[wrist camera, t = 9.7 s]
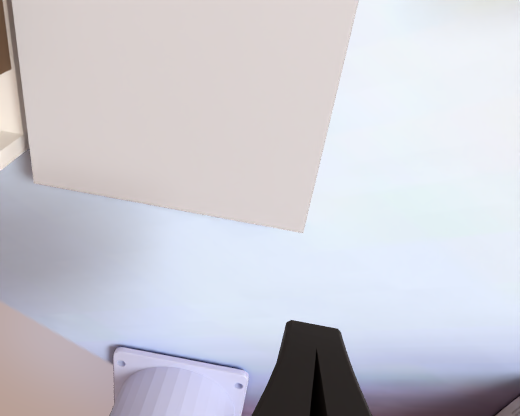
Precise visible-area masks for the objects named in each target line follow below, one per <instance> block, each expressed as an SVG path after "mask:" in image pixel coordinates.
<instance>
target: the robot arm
mask: <svg viewBox="0 0 520 416" xmlns="http://www.w3.org/2000/svg"><path fill="white" fill-rule="evenodd" d="M113 369H114V406H113V408H112V411H111V413H110V416H241V414H242V409H243V405H244V400H245V395H246V390H247V385H248V380H249V375H248V373H247V372H246V371H244V370H240V369H235V368H229V367H224V366H219V365H214V364H209V363H203V362H198V361H193V360H188V359H182V358H177V357H172V356H167V355H161V354H156V353H151V352H146V351H140V350H135V349H130V348H125V347H119V348H117V349H116V350H115V352H114V354H113ZM252 416H372V414H371V412H370V410H369V408H368V405H367V403H366V401H365V398H364V396H363V394H362V391H361V389H360V387H359V384H358V382H357V379H356V377H355V374H354V371H353V368H352V366H351V363H350V360H349V357H348V354H347V351H346V348H345V345H344V342H343V339H342V335H341V332H340V331H339V330H338V329H336V328H331V327H325V326H320V325H315V324H309V323H304V322H299V321H294V320H291V321H289V322H286V326H285V331H284V335H283V339H282V343H281V347H280V351H279V355H278V359H277V363H276V365H275V368H274V370H273V372H272V375H271V377H270V379H269V382H268V384H267V386H266V388H265V390H264V392H263V394H262V396H261V398H260V400H259V402H258V404H257V406H256V408H255V410H254V412H253V414H252Z"/></svg>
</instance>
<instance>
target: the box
mask: <svg viewBox="0 0 520 416" xmlns="http://www.w3.org/2000/svg"><path fill="white" fill-rule="evenodd" d="M3 7H4V15H5V23H6V30H7V38H8V46H9V53H10V61H11V70H9V71H7V72H5V73H3V74H1V75H0V171H1V170H2V169H3V168H5V167H6V166H7V165H8V164H10V163H11V162H12V161H13V160H15V159H16V158H17V157H19V156H20V155H21V154H22V153H24V152H25V151H26V150H27V149H29V139H28V131H27V123H26V115H25V106H24V98H23V90H22V81H21V73H20V65H19V57H18V48H17V40H16V32H15V24H14V15H13V7H12V0H3Z"/></svg>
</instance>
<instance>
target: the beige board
mask: <svg viewBox="0 0 520 416" xmlns="http://www.w3.org/2000/svg"><path fill="white" fill-rule="evenodd" d="M358 1H359V0H12V7H13V15H14V24H15V32H16V40H17V48H18V57H19V65H20V73H21V81H22V90H23V98H24V106H25V115H26V123H27V131H28V139H29V148H30V156H31V164H32V172H33V181H34V183H35V184H41V185H46V186H52V187H57V188H62V189H68V190H73V191H79V192H84V193H89V194H95V195H100V196H106V197H111V198H116V199H122V200H127V201H133V202H138V203H143V204H149V205H154V206H159V207H165V208H170V209H176V210H181V211H186V212H192V213H197V214H203V215H208V216H213V217H219V218H224V219H230V220H235V221H240V222H246V223H251V224H256V225H262V226H267V227H273V228H278V229H283V230H289V231H294V232H300V233H303V231H304V227H305V223H306V219H307V215H308V211H309V206H310V202H311V198H312V194H313V190H314V185H315V181H316V177H317V173H318V169H319V164H320V160H321V156H322V152H323V148H324V144H325V139H326V135H327V131H328V127H329V123H330V118H331V114H332V110H333V106H334V102H335V98H336V93H337V89H338V85H339V81H340V77H341V72H342V68H343V64H344V60H345V56H346V51H347V47H348V43H349V39H350V35H351V31H352V26H353V22H354V18H355V14H356V10H357V5H358Z"/></svg>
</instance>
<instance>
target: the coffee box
mask: <svg viewBox="0 0 520 416" xmlns="http://www.w3.org/2000/svg"><path fill="white" fill-rule="evenodd" d="M496 416H520V396H519V397H518V398H516V399H515V400H514V401H513V402H512V403H510V404H509V405H508V406H507V407H505V408H504V409H503V410H502V411H500V412H499V413H498V414H497V415H496Z"/></svg>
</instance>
